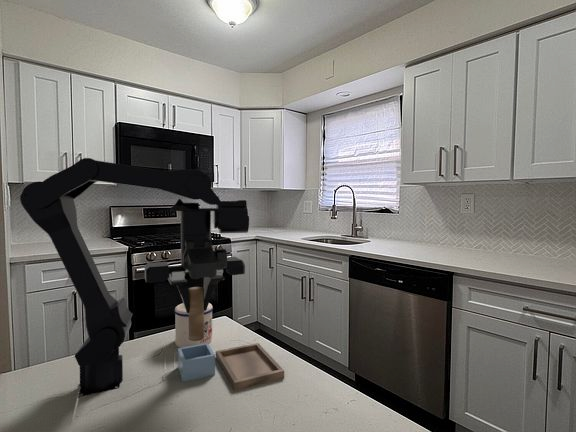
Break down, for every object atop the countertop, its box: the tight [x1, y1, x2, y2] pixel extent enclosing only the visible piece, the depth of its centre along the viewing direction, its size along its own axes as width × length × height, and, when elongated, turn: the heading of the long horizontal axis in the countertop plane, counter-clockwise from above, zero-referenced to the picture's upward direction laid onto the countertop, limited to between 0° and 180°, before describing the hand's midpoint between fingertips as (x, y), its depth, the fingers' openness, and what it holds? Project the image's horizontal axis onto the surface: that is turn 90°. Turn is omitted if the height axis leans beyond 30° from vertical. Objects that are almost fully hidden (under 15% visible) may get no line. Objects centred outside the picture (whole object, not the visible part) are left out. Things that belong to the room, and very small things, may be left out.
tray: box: [215, 342, 285, 391], centre depth 68 cm, size 10×14×2 cm
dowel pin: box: [187, 286, 204, 341], centre depth 66 cm, size 3×3×10 cm
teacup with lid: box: [173, 302, 214, 348], centre depth 82 cm, size 12×9×12 cm
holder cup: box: [177, 343, 216, 383], centre depth 67 cm, size 6×6×4 cm
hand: (196, 311), depth 66 cm, fingers closed on dowel pin, 3 cm apart
